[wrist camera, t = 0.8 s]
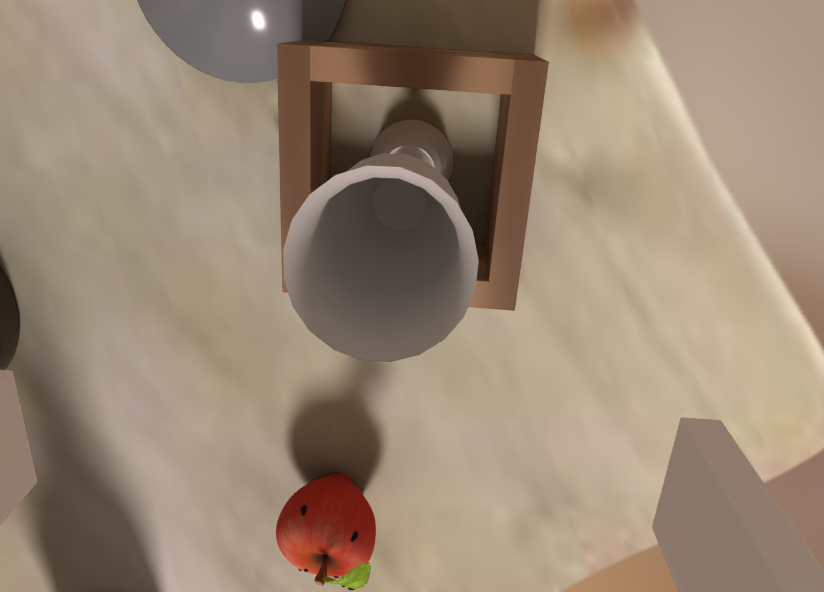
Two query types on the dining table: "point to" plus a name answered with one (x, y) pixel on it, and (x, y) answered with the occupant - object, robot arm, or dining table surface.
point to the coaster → (239, 32)
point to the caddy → (426, 69)
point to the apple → (329, 531)
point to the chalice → (384, 250)
